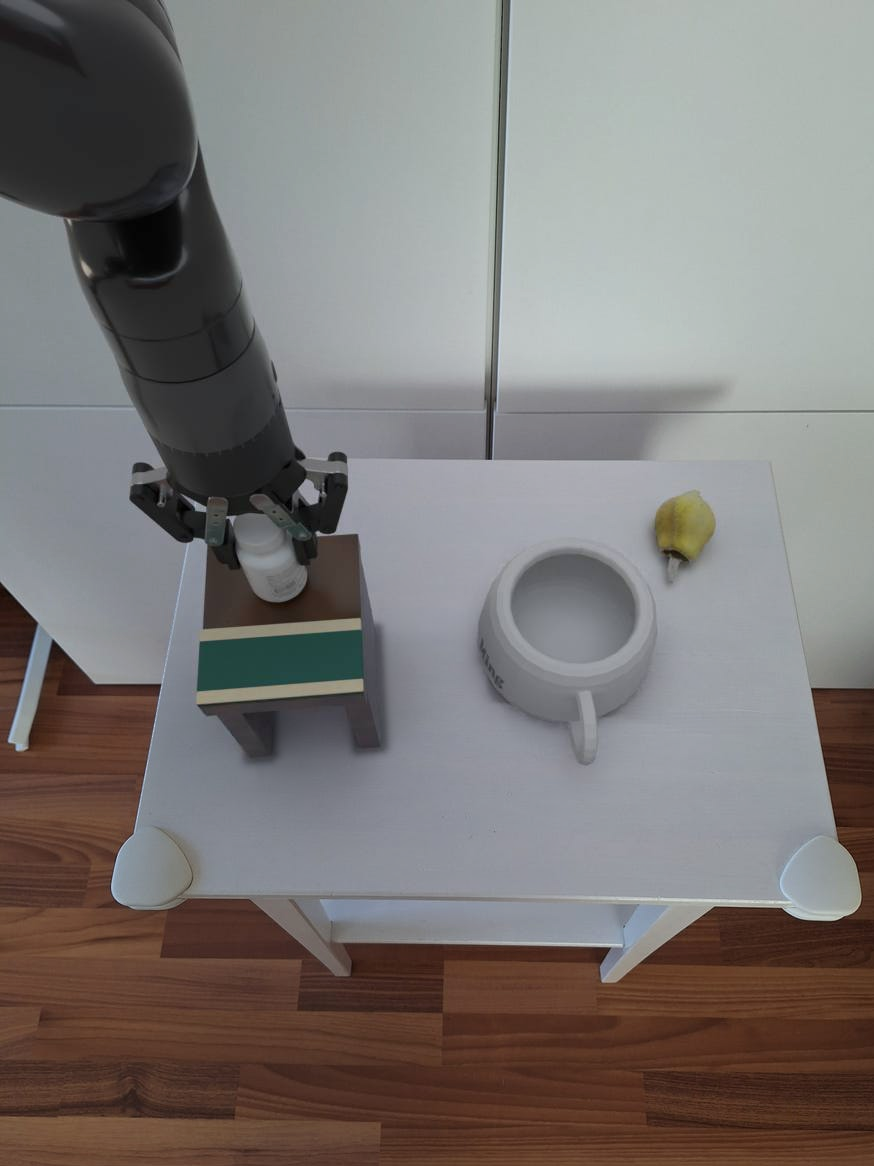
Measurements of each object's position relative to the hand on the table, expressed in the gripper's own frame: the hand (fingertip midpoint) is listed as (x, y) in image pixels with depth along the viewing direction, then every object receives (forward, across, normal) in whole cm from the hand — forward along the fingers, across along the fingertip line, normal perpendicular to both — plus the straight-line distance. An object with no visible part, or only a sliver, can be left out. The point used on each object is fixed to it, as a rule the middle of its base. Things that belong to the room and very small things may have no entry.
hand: (271, 556), depth 59 cm
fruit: (+20, +38, +10) cm, 44 cm away
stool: (+20, 0, -3) cm, 20 cm away
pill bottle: (+4, 0, 0) cm, 4 cm away
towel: (+4, 0, -7) cm, 8 cm away
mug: (+20, +24, -3) cm, 31 cm away
